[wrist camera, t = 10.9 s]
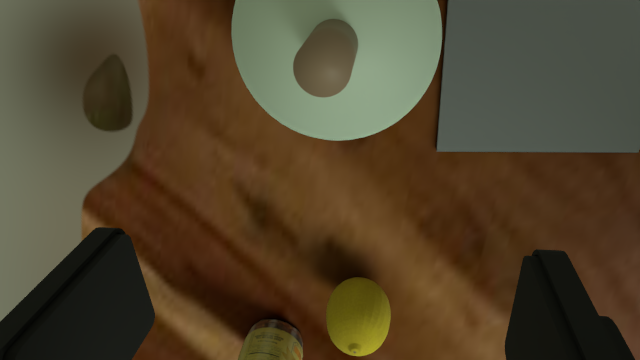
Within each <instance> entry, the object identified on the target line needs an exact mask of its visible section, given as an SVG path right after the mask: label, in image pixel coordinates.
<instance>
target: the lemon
mask: <svg viewBox="0 0 640 360" xmlns="http://www.w3.org/2000/svg"><path fill="white" fill-rule="evenodd" d="M390 318H391V313H390V306H389V301H388V298H387V296H386V294H385V293H384V291H383V290H382V288H381V287H380V286H379V285H378V284H376V283H375V282H373V281H372V280H369V279H367V278H362V277H354V278H350V279H347V280H345V281H343V282H342V283H341V284H339V285H338V286H337V287H336V288H335V290H334V291H333V293H332V294H331V296H330V299H329V302H328V306H327V311H326V319H327V329H328V333H329V335H330V337H331V340H332V341H333V343H334V344H335V345H336V346H337V347H338V348H339V349H340V350H341V351H343V352H345V353H347V354H349V355H352V356H364V355H368V354H370V353H372V352H374V351H376V350H377V349H378V348H379V347H380V346H381V345H382V343H383V341H384V340H385V338H386V336H387V333H388V329H389V325H390Z"/></svg>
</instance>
